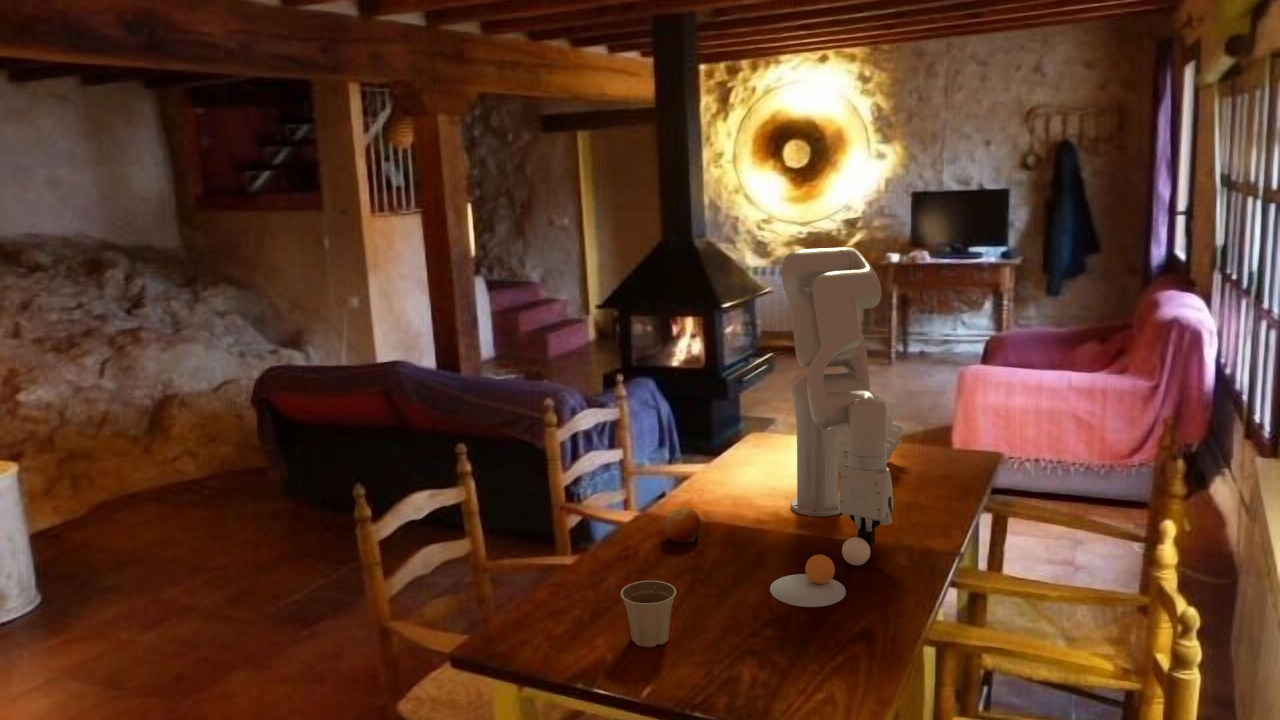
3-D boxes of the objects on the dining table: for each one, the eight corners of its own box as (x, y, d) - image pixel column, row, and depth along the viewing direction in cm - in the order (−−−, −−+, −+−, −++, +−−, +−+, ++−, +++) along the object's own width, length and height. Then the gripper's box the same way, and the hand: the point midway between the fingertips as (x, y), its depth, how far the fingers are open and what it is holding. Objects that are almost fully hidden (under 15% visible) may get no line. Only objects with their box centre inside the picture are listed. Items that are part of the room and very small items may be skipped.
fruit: (707, 540, 201) (686, 509, 201) (676, 557, 203) (655, 526, 203) (711, 526, 209) (692, 496, 208) (681, 543, 211) (662, 513, 210)
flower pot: (620, 628, 167) (618, 582, 165) (674, 624, 167) (672, 578, 166) (624, 654, 158) (622, 605, 156) (681, 650, 158) (679, 601, 157)
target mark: (776, 572, 187) (776, 571, 187) (849, 578, 183) (849, 577, 183) (764, 602, 174) (764, 601, 174) (842, 610, 170) (842, 609, 170)
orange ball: (805, 548, 184) (795, 575, 182) (823, 550, 179) (813, 577, 177) (826, 561, 186) (816, 587, 184) (844, 563, 181) (834, 590, 179)
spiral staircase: (837, 494, 243) (857, 462, 265) (901, 472, 234) (917, 440, 256) (805, 430, 242) (829, 403, 264) (869, 406, 234) (887, 380, 256)
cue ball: (839, 533, 190) (833, 558, 190) (859, 543, 185) (852, 570, 186) (859, 532, 193) (853, 558, 193) (879, 543, 188) (872, 569, 189)
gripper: (824, 458, 193) (824, 544, 197) (892, 471, 183) (890, 561, 187) (843, 450, 199) (843, 533, 202) (910, 462, 189) (908, 549, 192)
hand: (866, 546), depth 194 cm, fingers closed
